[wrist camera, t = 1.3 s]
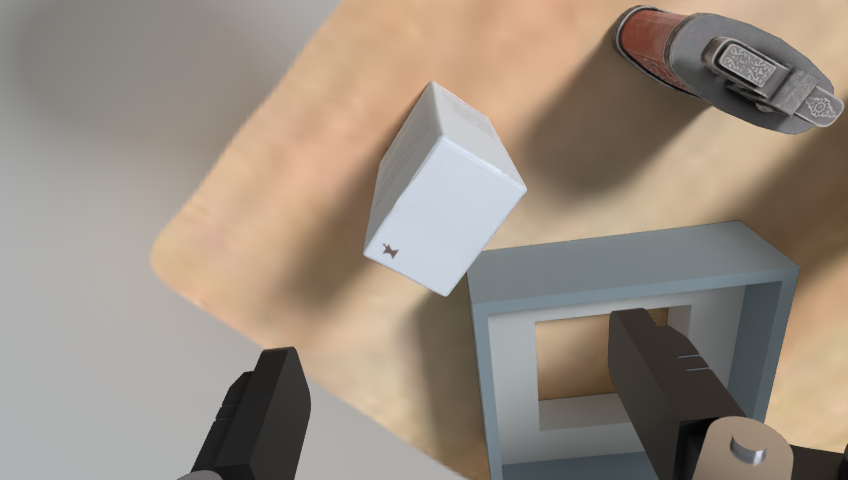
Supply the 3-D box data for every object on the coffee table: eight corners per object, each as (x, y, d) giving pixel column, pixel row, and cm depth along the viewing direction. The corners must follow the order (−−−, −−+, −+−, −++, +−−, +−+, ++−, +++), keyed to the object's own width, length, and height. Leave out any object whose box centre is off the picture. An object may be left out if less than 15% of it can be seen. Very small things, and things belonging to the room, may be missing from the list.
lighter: (753, 57, 29) (902, 92, 20) (713, 112, 30) (836, 168, 21) (634, -11, 27) (739, -5, 18) (598, 51, 28) (679, 83, 20)
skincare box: (436, 196, 32) (444, 303, 22) (378, 162, 31) (356, 257, 21) (492, 115, 30) (532, 190, 19) (431, 75, 29) (437, 131, 18)
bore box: (739, 220, 33) (800, 266, 28) (707, 420, 41) (749, 485, 36) (464, 253, 34) (472, 304, 29) (485, 441, 42) (494, 508, 37)
